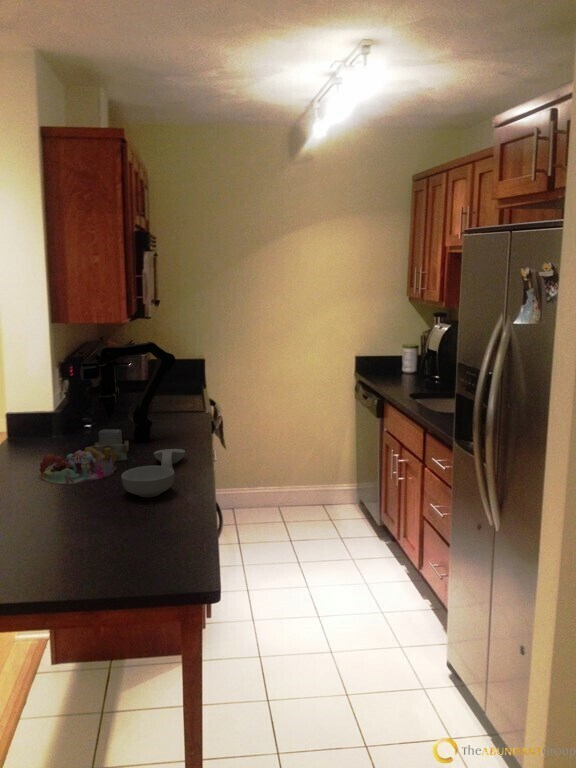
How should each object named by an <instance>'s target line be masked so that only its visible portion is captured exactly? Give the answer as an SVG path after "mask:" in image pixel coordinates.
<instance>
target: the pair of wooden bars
mask: <svg viewBox="0 0 576 768" xmlns="http://www.w3.org/2000/svg"><path fill="white" fill-rule="evenodd" d="M89 447H92V448H94V449H96V450H97V451H99V452H101V453H102V454H103V455H104V448H105V449H106V448H111V452H110V453H112V454H113V453H117V457H116V460H115V462H120V461H127V460H128V457H127V456H128V455H127V453H129V450H130V449H129V448H130V442H129V440H124V444H123V443H122V444H121V445H103V446H99V441H98V442H94V445H90V446H89Z"/></svg>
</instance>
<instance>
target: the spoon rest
mask: <svg viewBox="0 0 576 768" xmlns="http://www.w3.org/2000/svg"><path fill="white" fill-rule="evenodd" d="M185 454H186V451H185V450H184V449H181V448H167V449H160V450H156V451H154V452H153V456H154V457H155V459H156V460H158V461H159V462H160V463H161V465H160V466H165V467H169V468H172V469H173V470H174V466H173V464H177V463H178V462H179V461H181V460H182V459H183V458H184V456H185Z"/></svg>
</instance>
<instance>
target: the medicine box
mask: <svg viewBox="0 0 576 768" xmlns="http://www.w3.org/2000/svg"><path fill="white" fill-rule="evenodd" d="M122 432H123V431H122V430H121V429H111V428H109V429H107V428H105V429H101V430H100V431H99V432H98V442H99V446H103V445H121V444H123V436H122Z"/></svg>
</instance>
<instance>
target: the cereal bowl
mask: <svg viewBox="0 0 576 768" xmlns="http://www.w3.org/2000/svg"><path fill="white" fill-rule="evenodd" d="M175 473H176V472H175V470H174V468H173V469H172V468H169V467H165V466H161V465H143V466H137V467H133V468H130V469H128V470H127V469H126V470H125V471H124V472H123V473H122V474H121V483H122V486H123V488H124V489H125V490H126V491H127V493H128V492H129V493H131V494H132V495H135V496H136V495H137V496H138V497H140V498H153V497H157V496H159V495H161V494H162V493H164V492H166V491H168V490H169V489H170V488H171V487H172V485H173V484H174V481H175Z"/></svg>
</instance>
